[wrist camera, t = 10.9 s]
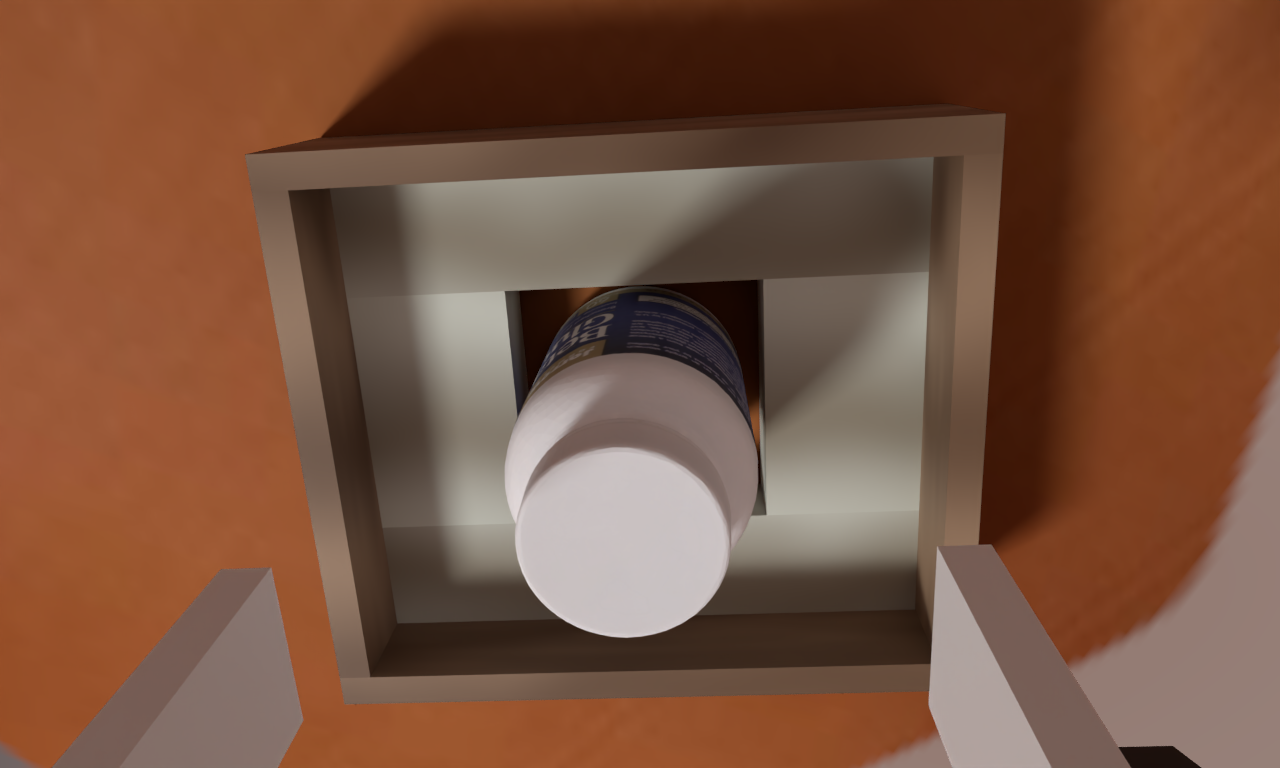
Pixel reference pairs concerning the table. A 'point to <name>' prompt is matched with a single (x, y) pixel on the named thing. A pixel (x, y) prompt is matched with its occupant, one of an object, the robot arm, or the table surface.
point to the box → (620, 256)
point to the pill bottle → (632, 464)
